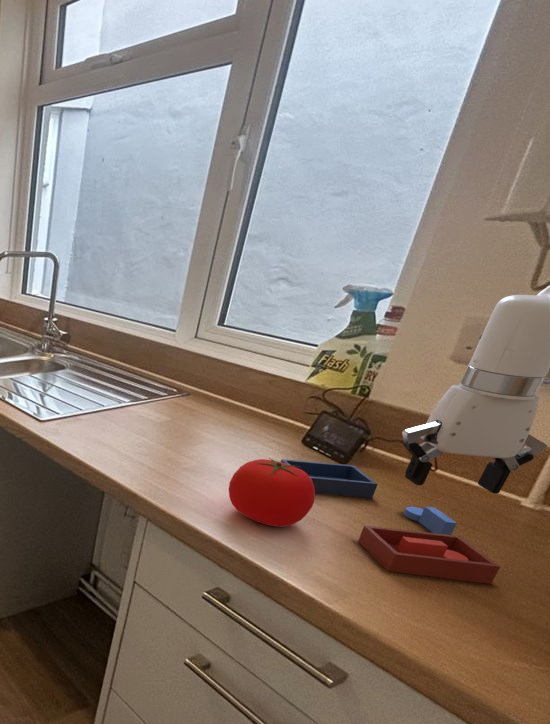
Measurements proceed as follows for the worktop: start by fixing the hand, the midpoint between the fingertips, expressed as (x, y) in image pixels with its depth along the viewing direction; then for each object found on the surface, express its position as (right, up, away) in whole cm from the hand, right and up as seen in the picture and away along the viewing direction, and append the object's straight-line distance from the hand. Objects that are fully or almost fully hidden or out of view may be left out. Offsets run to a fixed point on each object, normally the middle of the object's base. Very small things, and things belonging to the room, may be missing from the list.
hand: (449, 485), depth 83 cm
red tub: (-9, -11, -4) cm, 15 cm away
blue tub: (-5, -2, +17) cm, 18 cm away
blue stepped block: (+1, -7, +5) cm, 8 cm away
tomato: (-25, -7, +7) cm, 27 cm away
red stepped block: (-8, -11, -5) cm, 14 cm away
